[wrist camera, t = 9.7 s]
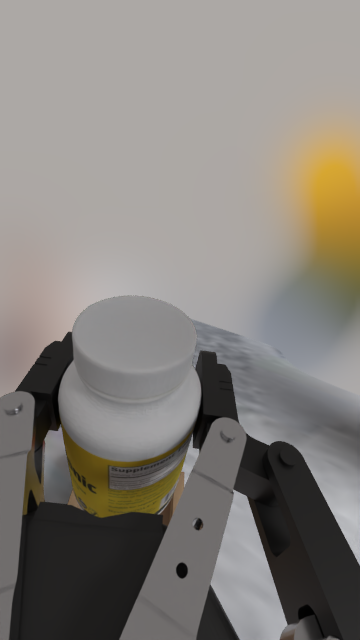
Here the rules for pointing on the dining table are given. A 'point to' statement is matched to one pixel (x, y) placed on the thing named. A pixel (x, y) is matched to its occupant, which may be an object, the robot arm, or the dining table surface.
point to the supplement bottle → (129, 404)
